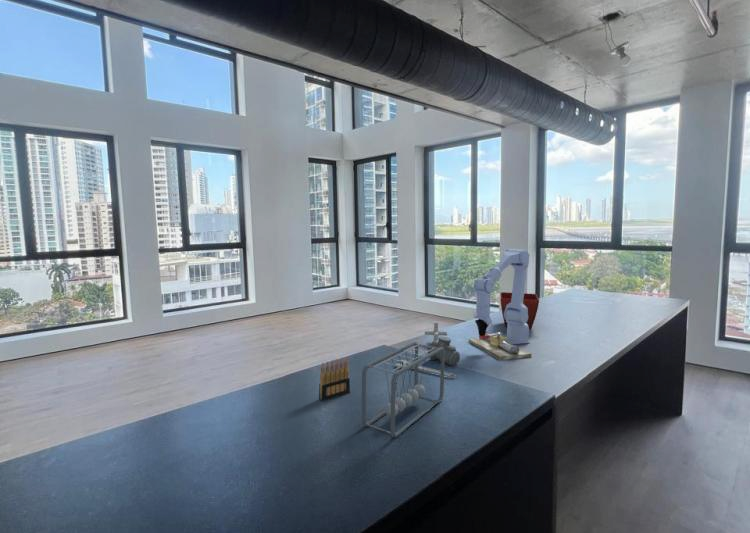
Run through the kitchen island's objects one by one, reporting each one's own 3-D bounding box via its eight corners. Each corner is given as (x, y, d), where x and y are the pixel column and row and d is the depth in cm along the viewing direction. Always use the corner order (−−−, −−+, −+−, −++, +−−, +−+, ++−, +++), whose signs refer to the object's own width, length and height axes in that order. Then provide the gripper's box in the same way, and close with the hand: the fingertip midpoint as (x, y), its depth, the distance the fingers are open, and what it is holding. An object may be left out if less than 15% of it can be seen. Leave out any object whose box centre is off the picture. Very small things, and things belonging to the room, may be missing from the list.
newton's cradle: (415, 391, 134) (416, 339, 132) (443, 400, 128) (445, 345, 126) (360, 429, 110) (361, 365, 108) (393, 441, 104) (394, 374, 102)
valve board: (496, 339, 195) (496, 336, 195) (531, 357, 170) (531, 353, 170) (468, 341, 191) (468, 338, 191) (499, 360, 166) (500, 356, 166)
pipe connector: (445, 341, 192) (446, 320, 191) (447, 347, 182) (448, 325, 181) (424, 340, 193) (424, 319, 192) (424, 346, 183) (425, 324, 182)
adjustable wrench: (457, 378, 147) (457, 374, 147) (449, 384, 142) (449, 379, 142) (400, 362, 162) (400, 358, 162) (391, 367, 157) (391, 363, 157)
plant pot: (499, 329, 215) (500, 297, 213) (499, 320, 233) (500, 291, 231) (537, 332, 209) (539, 300, 207) (534, 323, 227) (536, 293, 225)
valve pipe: (487, 338, 193) (488, 327, 192) (519, 355, 169) (520, 342, 169) (479, 339, 192) (479, 327, 191) (510, 356, 168) (511, 343, 167)
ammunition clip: (321, 401, 126) (321, 364, 125) (318, 399, 128) (318, 362, 127) (350, 392, 133) (350, 357, 132) (346, 390, 134) (347, 355, 133)
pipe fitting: (424, 359, 164) (429, 335, 163) (437, 356, 170) (441, 333, 168) (448, 371, 156) (452, 345, 154) (460, 367, 161) (465, 343, 160)
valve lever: (498, 334, 181) (498, 331, 181) (502, 335, 179) (502, 332, 179) (478, 338, 174) (478, 335, 174) (483, 339, 172) (483, 336, 172)
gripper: (468, 302, 182) (467, 332, 183) (480, 309, 167) (479, 341, 169) (483, 302, 183) (481, 331, 184) (497, 309, 168) (495, 341, 170)
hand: (481, 336), depth 177 cm, fingers closed, pressing on valve lever
